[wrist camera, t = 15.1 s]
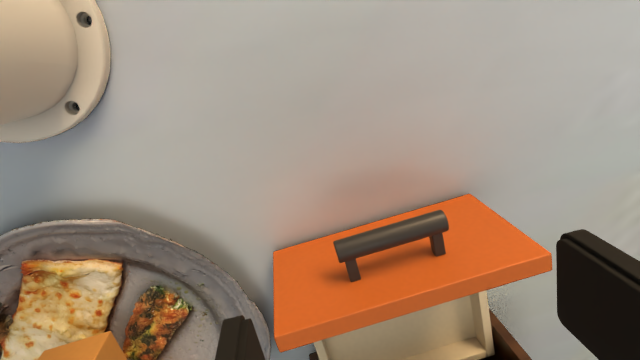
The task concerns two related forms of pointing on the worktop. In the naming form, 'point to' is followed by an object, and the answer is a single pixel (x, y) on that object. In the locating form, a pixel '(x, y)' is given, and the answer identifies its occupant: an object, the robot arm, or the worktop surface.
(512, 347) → the cabinet
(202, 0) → the worktop surface
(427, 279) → the drawer
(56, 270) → the food plate
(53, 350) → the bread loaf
